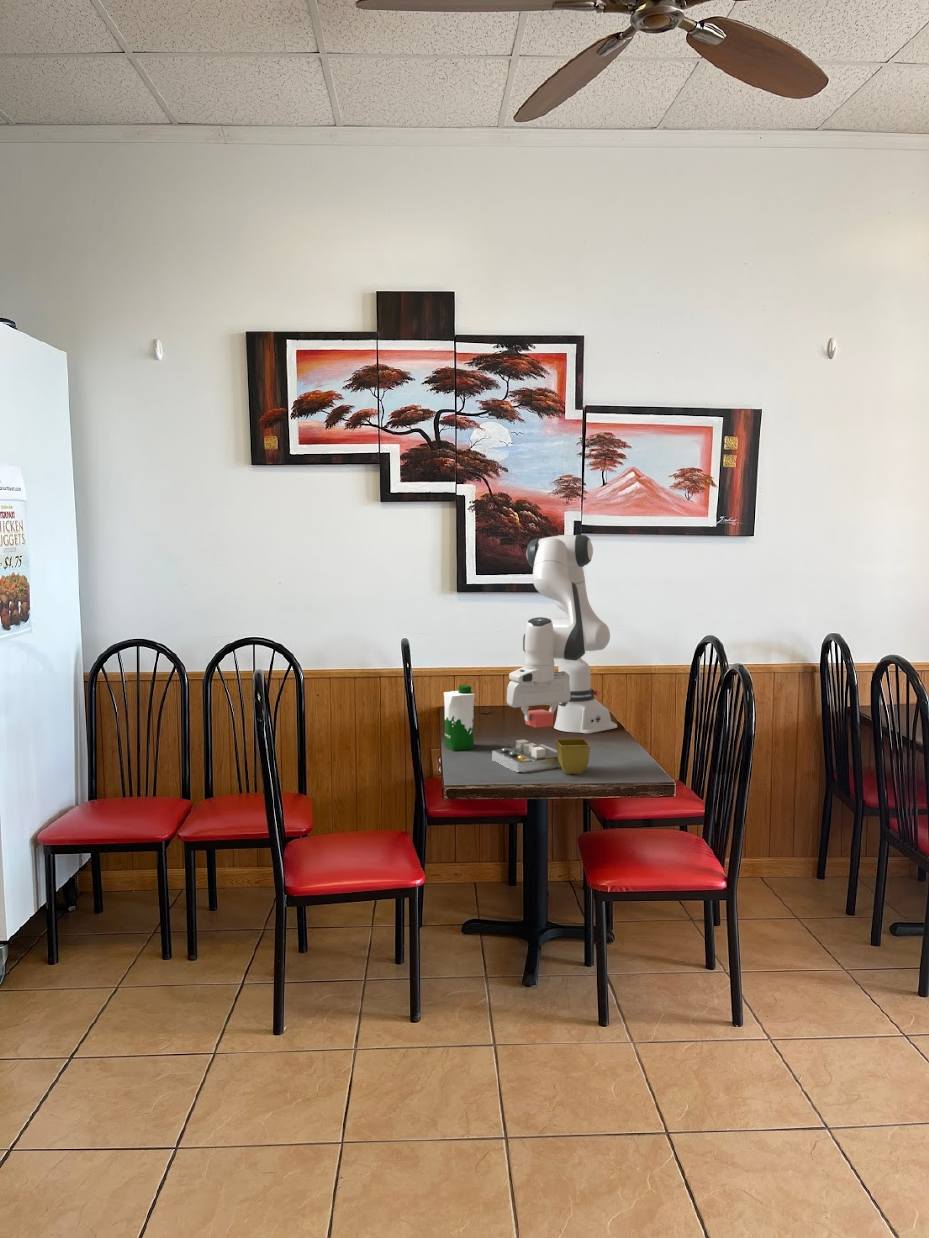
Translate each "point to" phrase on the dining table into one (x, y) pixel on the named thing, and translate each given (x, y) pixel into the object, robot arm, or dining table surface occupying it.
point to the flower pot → (573, 755)
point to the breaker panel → (525, 757)
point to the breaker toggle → (538, 752)
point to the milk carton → (459, 719)
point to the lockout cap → (540, 718)
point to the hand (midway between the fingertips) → (539, 719)
